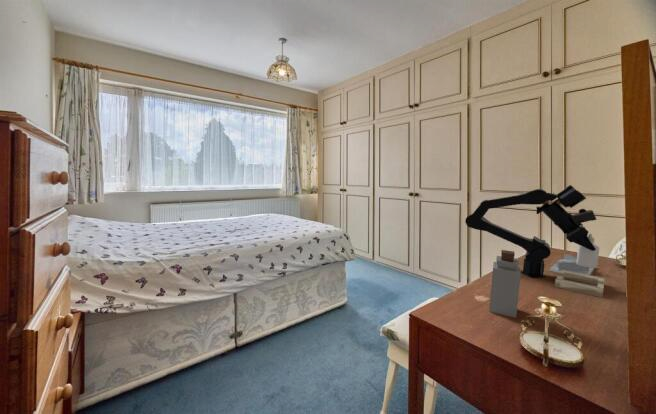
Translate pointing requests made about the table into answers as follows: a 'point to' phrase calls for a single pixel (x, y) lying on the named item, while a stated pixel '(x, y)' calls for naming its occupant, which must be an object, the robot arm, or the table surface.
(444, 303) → the table surface
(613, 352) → the table surface
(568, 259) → the silver tray
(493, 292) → the perfume bottle
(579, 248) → the eye dropper bottle
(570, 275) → the beige square frame
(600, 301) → the table surface
